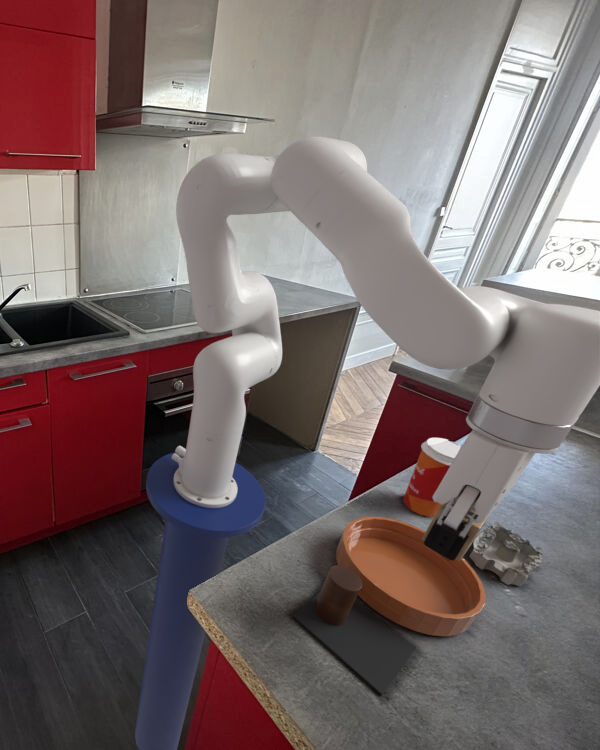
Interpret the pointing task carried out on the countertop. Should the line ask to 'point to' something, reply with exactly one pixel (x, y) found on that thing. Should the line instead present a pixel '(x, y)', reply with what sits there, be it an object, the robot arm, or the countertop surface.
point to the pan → (410, 577)
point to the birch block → (473, 530)
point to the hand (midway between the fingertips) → (445, 541)
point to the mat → (360, 643)
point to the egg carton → (505, 554)
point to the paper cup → (429, 475)
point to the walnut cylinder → (338, 595)
